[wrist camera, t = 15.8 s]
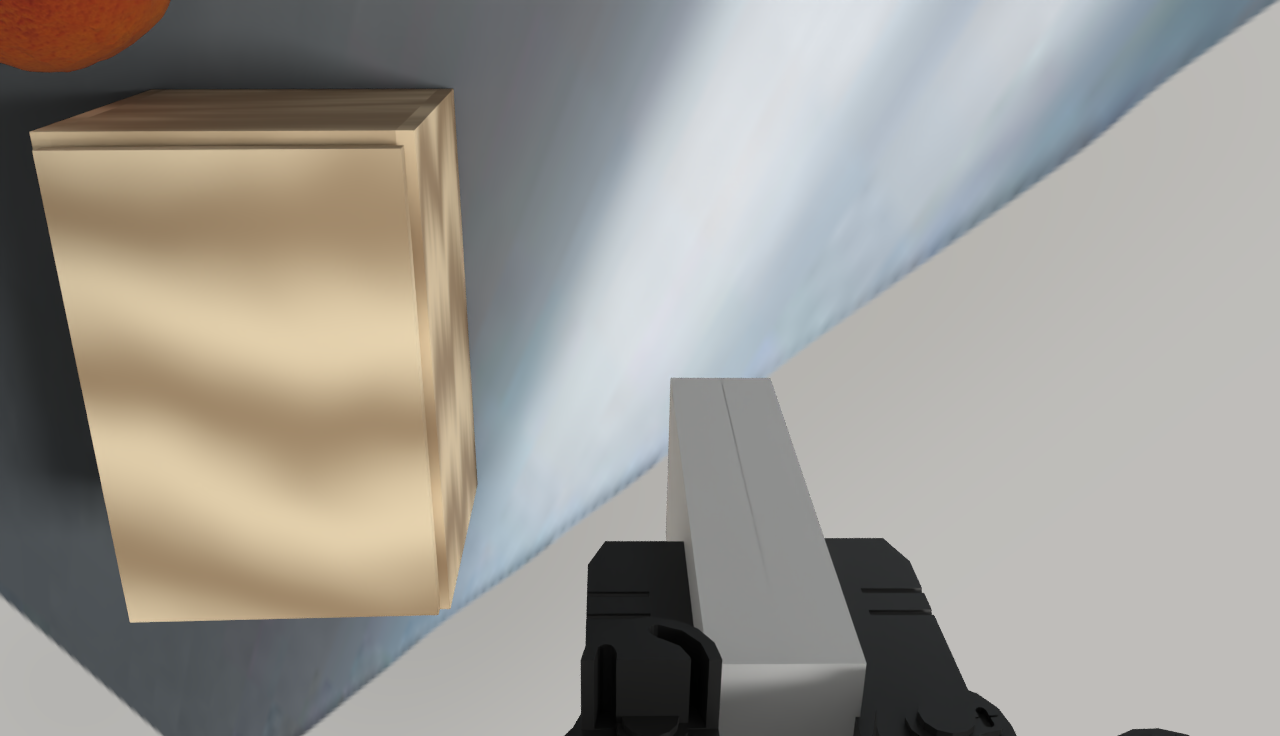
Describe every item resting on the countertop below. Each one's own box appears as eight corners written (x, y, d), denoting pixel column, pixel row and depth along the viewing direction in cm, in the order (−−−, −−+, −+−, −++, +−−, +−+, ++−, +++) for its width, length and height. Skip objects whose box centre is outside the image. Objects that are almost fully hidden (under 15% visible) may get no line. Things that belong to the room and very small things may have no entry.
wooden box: (151, 89, 43) (29, 131, 34) (453, 88, 43) (414, 130, 34) (216, 488, 50) (129, 615, 40) (477, 484, 50) (450, 608, 41)
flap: (41, 147, 34) (32, 150, 33) (404, 145, 34) (400, 148, 33) (136, 612, 40) (129, 622, 39) (440, 605, 40) (438, 614, 40)
